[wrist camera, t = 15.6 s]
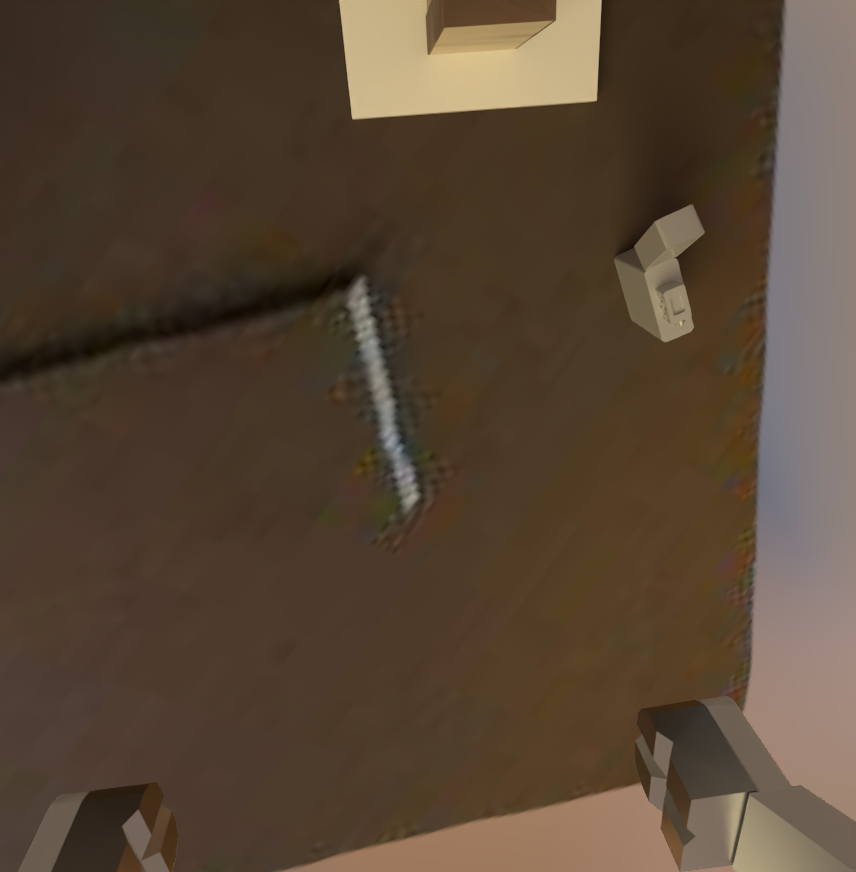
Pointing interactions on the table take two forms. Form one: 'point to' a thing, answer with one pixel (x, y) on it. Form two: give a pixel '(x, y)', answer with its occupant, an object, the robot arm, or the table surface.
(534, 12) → the block
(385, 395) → the table surface
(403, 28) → the tile
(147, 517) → the table surface
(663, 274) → the lighter
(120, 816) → the robot arm
